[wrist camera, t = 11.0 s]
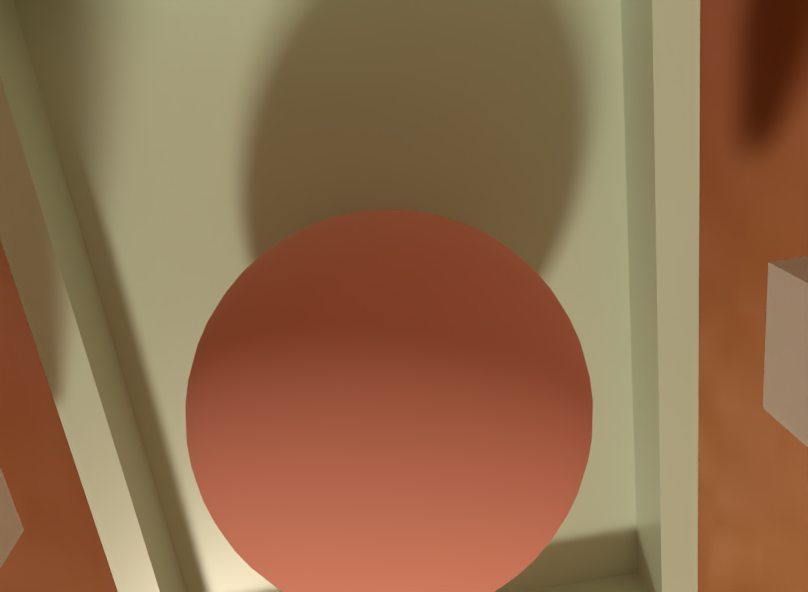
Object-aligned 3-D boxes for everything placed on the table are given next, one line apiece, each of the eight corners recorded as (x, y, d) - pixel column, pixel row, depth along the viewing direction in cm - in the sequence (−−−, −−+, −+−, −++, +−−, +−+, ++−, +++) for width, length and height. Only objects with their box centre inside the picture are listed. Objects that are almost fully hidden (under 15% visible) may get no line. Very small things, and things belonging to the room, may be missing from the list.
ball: (185, 201, 14) (70, 333, 8) (522, 151, 14) (660, 242, 8) (254, 489, 16) (205, 763, 10) (544, 442, 16) (666, 682, 10)
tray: (-33, -56, 13) (-104, -72, 11) (643, -147, 13) (700, -179, 11) (183, 652, 18) (164, 731, 16) (657, 571, 19) (697, 637, 17)
